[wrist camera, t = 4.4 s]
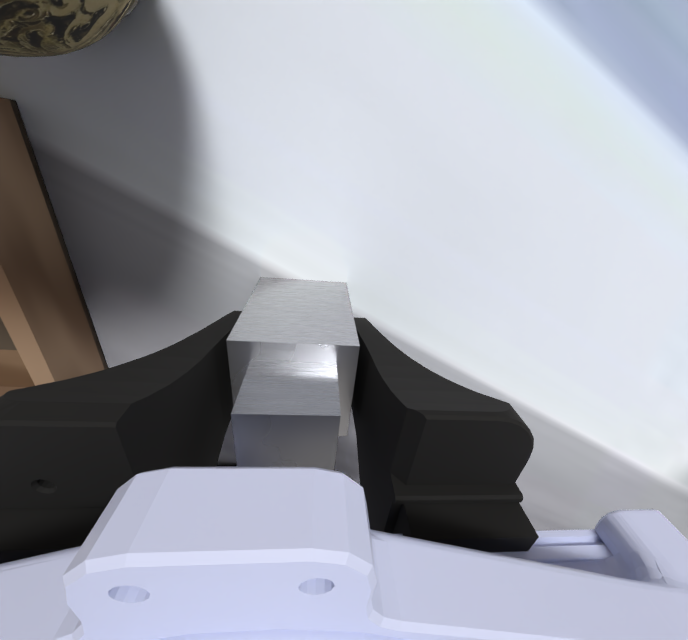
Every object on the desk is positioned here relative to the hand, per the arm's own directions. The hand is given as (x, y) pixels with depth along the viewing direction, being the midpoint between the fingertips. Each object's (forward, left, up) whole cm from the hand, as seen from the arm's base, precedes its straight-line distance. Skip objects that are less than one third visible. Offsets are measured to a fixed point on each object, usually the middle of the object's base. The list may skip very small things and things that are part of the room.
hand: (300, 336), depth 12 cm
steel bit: (0, 0, -2) cm, 2 cm away
